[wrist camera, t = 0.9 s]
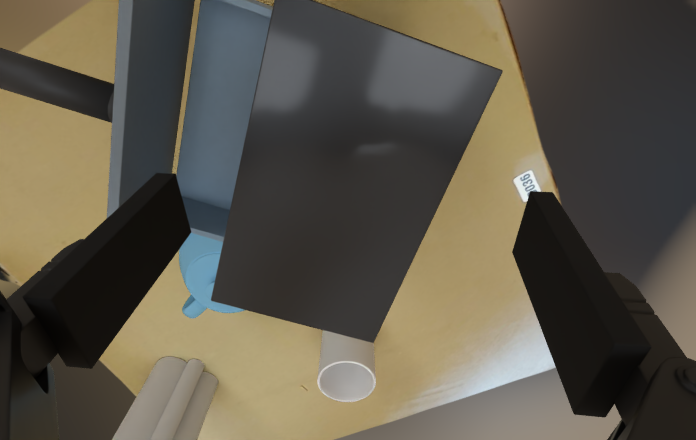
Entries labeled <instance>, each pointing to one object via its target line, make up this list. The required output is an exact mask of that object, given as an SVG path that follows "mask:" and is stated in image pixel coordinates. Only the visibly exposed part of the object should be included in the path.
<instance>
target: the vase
mask: <svg viewBox="0 0 696 440" xmlns="http://www.w3.org/2000/svg"><path fill="white" fill-rule="evenodd" d="M203 368H204V363H203V362H202V361H200V360H198V359H191V360H189V361H188V363H186V362H185V361H183V360H182V359H179V358H176V357H163V358H161V359H159V360H158V361H157V363H156V364H155V366H154V368H153V369H152V371H151V373H150V375H149V376H148V378H147V380H146V382H145V383H144V385H143V387H142V389H141V390H140V392H139V394H138V395H137V397H136V399H135V401H134V403H133V404H132V406H131V408H130V409H129V411H128V413H127V415H126V416H125V418H124V420H123V421H122V423H121V425H120V427H119V428H118V430H117V432H116V434H115V435H114V437H113V439H112V440H197V438H198V436H199V433H200V430H201V428H202V425H203V422H204V420H205V417H206V414H207V412H208V409H209V406H210V404H211V401H212V398H213V396H214V393H215V390H216V388H217V385H218V380H217V378H216V377H215V376H214V375H212V374H210V373H207V372H202V371H203Z"/></svg>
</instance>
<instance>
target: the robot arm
mask: <svg viewBox="0 0 696 440" xmlns="http://www.w3.org/2000/svg"><path fill="white" fill-rule="evenodd" d="M190 234H191V229H190V225H189V221H188V218H187V214H186V210H185V207H184V203H183V199H182V196H181V192H180V188H179V185H178V181H177V177H176V174H169V173H156V174H155V175H154V176H153V177H151V178H150V179H149V180H148V181H147V182H146V183H145V184H144V185H143V186H142V187H141V188H140V189H138V190H137V191H136V192H135V193H134V194H133V195H132V196H131V197H130V198H129V199H128V200H127V201H125V202H124V203H123V204H122V205H121V206H120V207H119V208H118V209H117V210H116V211H115V212H114V213H112V214H111V215H110V216H109V217H108V218H107V219H106V220H105V221H104V222H103V223H102V224H100V225H99V226H98V227H97V228H96V229H95V230H94V231H93V232H92V233H91V234H90V235H89V236H87V237H86V238H85V239H80V240H78V241H76V242H75V243H73V244H71V245H69V246H67V247H66V248H64V249H63V250H61V251H60V252H59V253H58V254H57V255H56V256H55V257H54V258H53V259H51V262H48V263H47V264H46V265H45V266H44V267H42V268H41V271H38V272H37V273H36V274H35V275H33V276H32V277H31V278H30V279H29V280H28V281H27V282H26V283H24V284H23V285H22V286H21V287H20V288H19V289H18V290H17V291H16V292H14V293H13V294H12V295H11V296H10V297H9V298H8V299H7V300H6V298H5V297H4V295H3V294H2V293H1V291H0V440H59V430H58V418H57V406H56V393H55V381H54V371H53V369H52V367H51V365H50V364H49V363H50V362H51V360H52V359H53V358H54V357H55V356H56V355H57V353H58V354H59V355H60V357H61V358H62V360H63V361H64V363H65V365H66V366H70V367H80V368H90V369H91V368H93V366H94V365H95V363H96V362H97V361H98V359H99V358H100V357H101V355H102V354H103V353H104V351H105V350H106V348H107V347H108V346H109V344H110V343H111V342H112V340H113V339H114V338H115V336H116V335H117V333H118V332H119V331H120V329H121V328H122V327H123V325H124V324H125V322H126V321H127V320H128V318H129V317H130V316H131V314H132V313H133V312H134V310H135V309H136V307H137V306H138V305H139V303H140V302H141V301H142V299H143V298H144V297H145V295H146V294H147V292H148V291H149V290H150V288H151V287H152V286H153V284H154V283H155V281H156V280H157V279H158V277H159V276H160V275H161V273H162V272H163V271H164V269H165V268H166V266H167V265H168V264H169V262H170V261H171V260H172V258H173V257H174V256H175V254H176V253H177V251H178V250H179V249H180V247H181V246H182V245H183V243H184V242H185V240H186V239H187V238H188V236H189V235H190ZM512 253H513V255H514V258H515V261H516V263H517V266H518V268H519V271H520V274H521V276H522V279H523V282H524V284H525V287H526V289H527V292H528V295H529V297H530V300H531V303H532V305H533V308H534V311H535V313H536V316H537V318H538V321H539V324H540V326H541V329H542V332H543V334H544V337H545V339H546V342H547V345H548V347H549V350H550V353H551V355H552V358H553V361H554V363H555V366H556V368H557V371H558V374H559V376H560V379H561V382H562V384H563V387H564V389H565V392H566V394H567V397H568V400H569V403H570V405H571V408H572V411H573V413H574V414H575V415H586V416H596V417H606V416H607V414H608V413H609V411H610V410H611V408H612V407H613V405H614V404H615V405H616V408H617V410H618V412H619V414H620V416H621V418H622V420H621V421H620V423H619V424H618V426H617V427H616V428H615V430H614V431H613V432H612V434H611V435H610V437H609V438H608V439H607V440H696V361H694V360H692V359H689V358H687V357H686V356H685V355H684V353H683V351H682V350H681V349H680V347H679V346H678V344H677V343H676V342H675V340H674V339H673V337H672V336H671V335H670V333H669V332H668V330H667V329H666V327H665V326H664V325H663V323H662V322H661V321H660V319H659V318H658V316H657V315H655V314H654V311H653V309H652V308H651V306H650V305H649V304H648V303H646V299H645V298H644V297H643V295H642V294H641V292H640V291H639V289H638V288H637V287H636V286H635V285H634V284H632V283H631V282H630V281H629V280H628V279H626V278H625V277H624V276H622V275H621V274H620V273H605V272H603V270H602V268H601V267H600V266H599V264H598V262H597V261H596V259H595V258H594V256H593V254H592V253H591V251H590V250H589V248H588V247H587V245H586V243H585V242H584V240H583V239H582V237H581V236H580V234H579V233H578V231H577V230H576V228H575V226H574V225H573V223H572V222H571V220H570V219H569V217H568V215H567V214H566V212H565V211H564V209H563V208H562V206H561V204H560V203H559V201H558V200H557V198H556V197H555V195H554V194H553V192H533V191H530V194H529V198H528V201H527V204H526V208H525V211H524V214H523V218H522V221H521V225H520V228H519V231H518V235H517V238H516V242H515V245H514V248H513V252H512Z"/></svg>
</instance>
